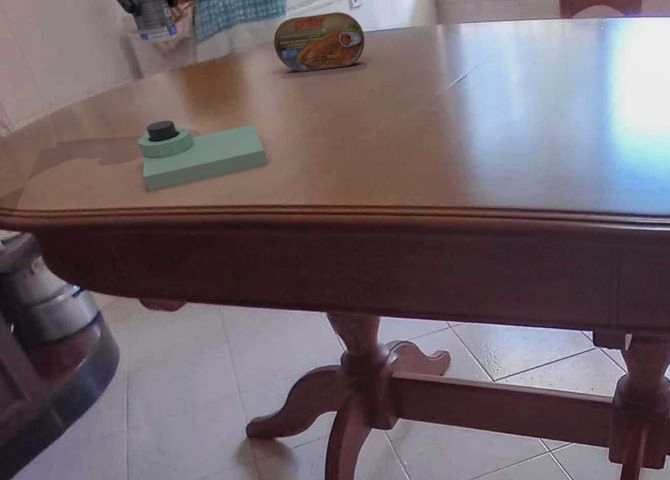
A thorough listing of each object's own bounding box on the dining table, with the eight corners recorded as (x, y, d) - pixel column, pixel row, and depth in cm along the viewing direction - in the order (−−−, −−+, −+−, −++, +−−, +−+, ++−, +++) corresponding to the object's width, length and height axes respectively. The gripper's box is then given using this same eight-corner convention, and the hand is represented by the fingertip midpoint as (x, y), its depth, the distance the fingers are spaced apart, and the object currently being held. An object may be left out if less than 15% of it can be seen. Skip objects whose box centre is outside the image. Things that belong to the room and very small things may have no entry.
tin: (281, 74, 120) (267, 21, 115) (284, 69, 122) (271, 17, 117) (368, 64, 119) (358, 11, 114) (370, 59, 122) (360, 7, 117)
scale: (148, 192, 82) (136, 163, 80) (149, 160, 91) (138, 134, 89) (268, 164, 85) (260, 136, 83) (257, 137, 94) (250, 111, 92)
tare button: (151, 145, 86) (146, 131, 85) (151, 137, 88) (146, 124, 87) (178, 139, 87) (173, 125, 86) (177, 132, 89) (172, 118, 88)
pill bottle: (181, 38, 94) (158, -32, 89) (145, 46, 92) (119, -26, 87) (175, 33, 97) (153, -35, 92) (140, 40, 96) (115, -29, 91)
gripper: (122, -82, 98) (199, 16, 99) (18, -66, 89) (103, 41, 90) (127, -130, 92) (209, -26, 93) (15, -118, 83) (107, -3, 84)
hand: (156, 7), depth 91 cm, fingers closed on pill bottle, 4 cm apart
